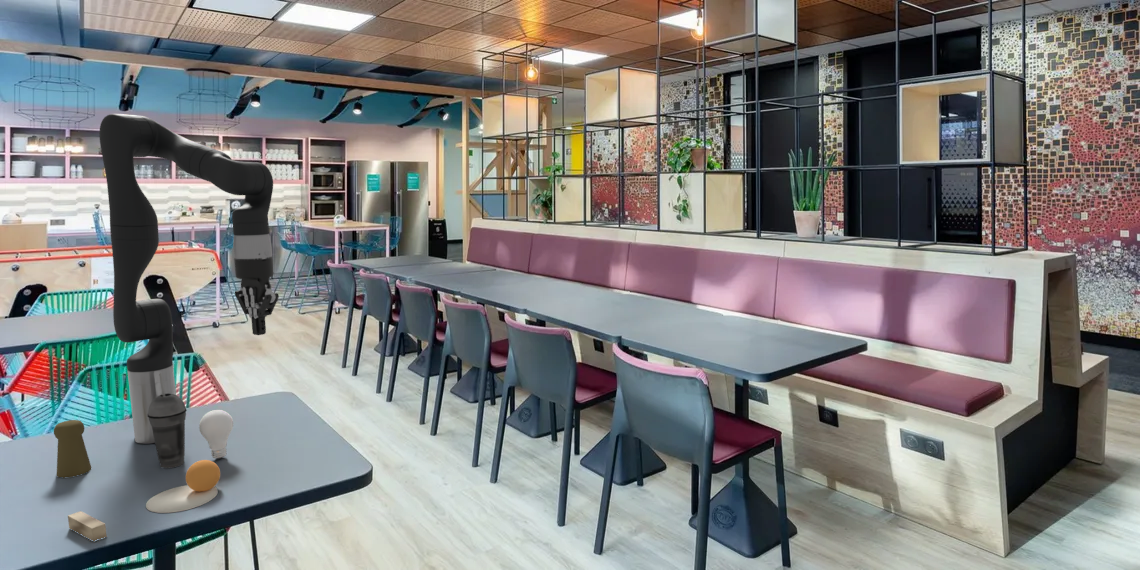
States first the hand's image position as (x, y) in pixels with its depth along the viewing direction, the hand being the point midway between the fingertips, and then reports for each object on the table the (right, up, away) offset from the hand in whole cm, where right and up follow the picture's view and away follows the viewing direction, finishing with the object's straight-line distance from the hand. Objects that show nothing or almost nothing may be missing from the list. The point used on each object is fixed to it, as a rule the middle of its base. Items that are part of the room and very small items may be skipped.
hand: (259, 334), depth 151 cm
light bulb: (-9, -28, 0) cm, 29 cm away
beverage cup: (-18, -28, -2) cm, 33 cm away
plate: (-6, -30, -19) cm, 36 cm away
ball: (-4, -27, -16) cm, 31 cm away
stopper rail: (-15, -32, -32) cm, 48 cm away
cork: (-37, -29, -6) cm, 47 cm away
